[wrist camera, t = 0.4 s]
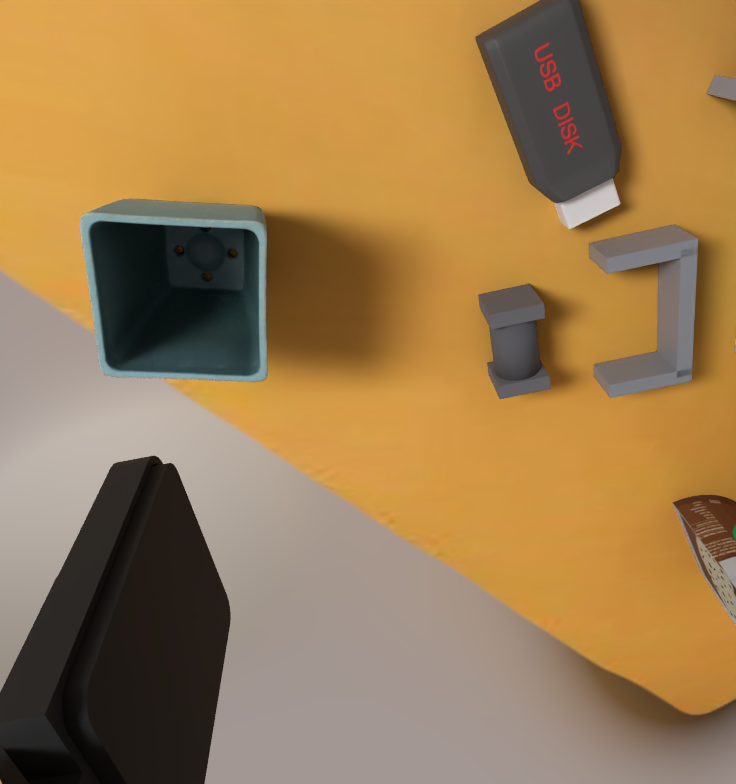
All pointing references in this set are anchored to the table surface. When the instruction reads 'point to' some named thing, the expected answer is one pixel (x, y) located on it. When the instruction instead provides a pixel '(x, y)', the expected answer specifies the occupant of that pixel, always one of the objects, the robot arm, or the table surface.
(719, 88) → the clip
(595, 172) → the usb drive
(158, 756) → the robot arm
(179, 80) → the table surface
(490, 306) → the grey square-flanged spool
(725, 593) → the food container
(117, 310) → the flower pot
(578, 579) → the table surface
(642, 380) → the clip
